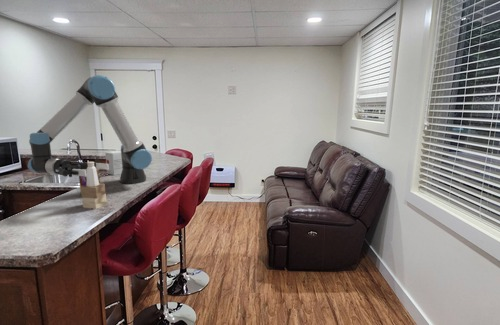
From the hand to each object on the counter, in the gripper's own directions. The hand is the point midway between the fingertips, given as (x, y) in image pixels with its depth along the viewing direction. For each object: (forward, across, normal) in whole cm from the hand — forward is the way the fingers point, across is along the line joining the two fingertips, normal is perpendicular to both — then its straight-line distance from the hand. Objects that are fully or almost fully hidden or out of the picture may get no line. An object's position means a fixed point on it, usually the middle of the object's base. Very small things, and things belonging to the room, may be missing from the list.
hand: (97, 169), depth 131 cm
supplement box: (-38, -58, -18) cm, 71 cm away
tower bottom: (-3, 0, -18) cm, 18 cm away
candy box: (-18, -14, -18) cm, 29 cm away
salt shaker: (-3, 0, -8) cm, 8 cm away
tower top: (-3, 0, -13) cm, 13 cm away
